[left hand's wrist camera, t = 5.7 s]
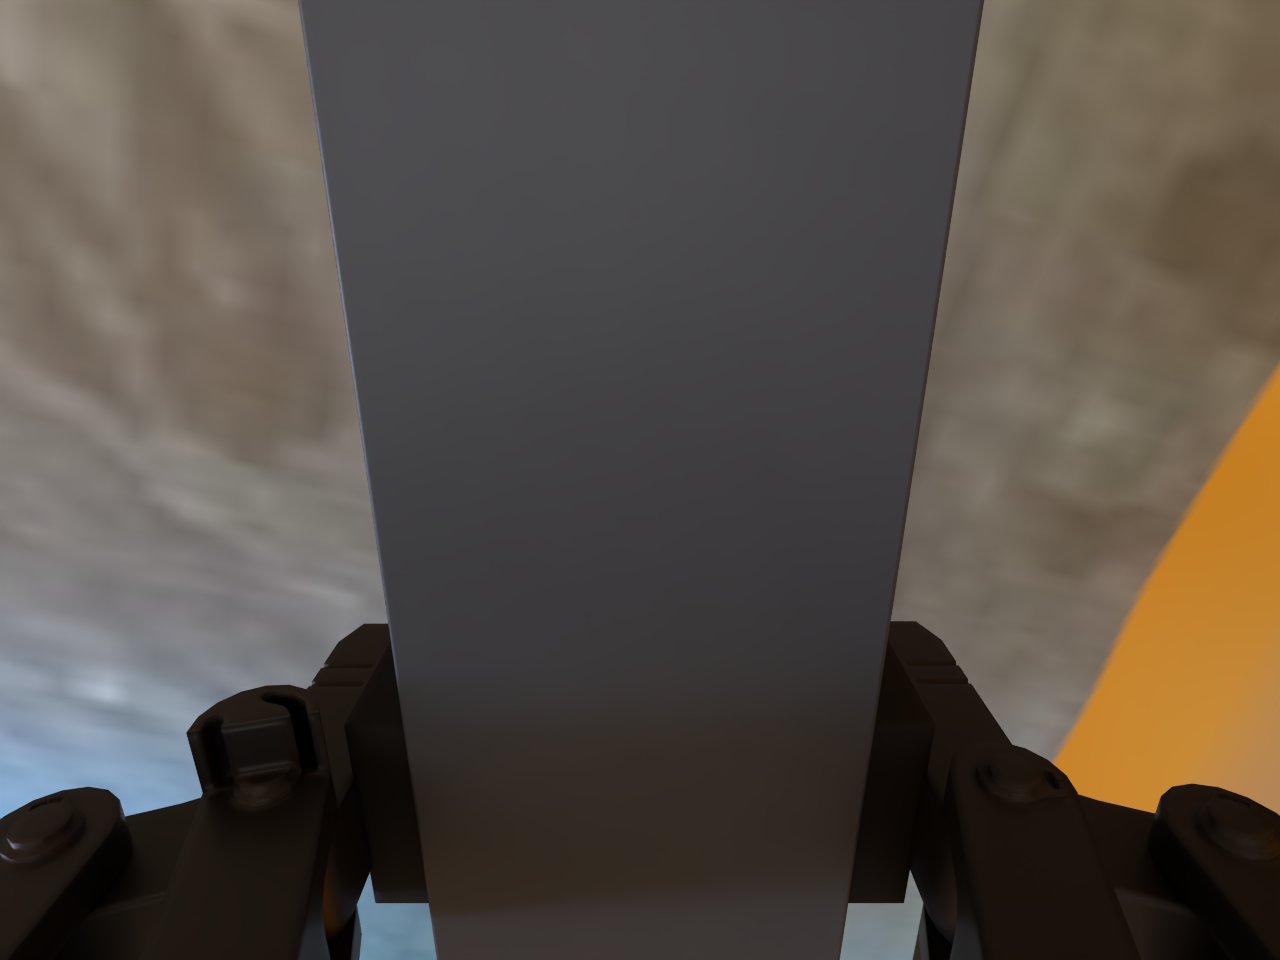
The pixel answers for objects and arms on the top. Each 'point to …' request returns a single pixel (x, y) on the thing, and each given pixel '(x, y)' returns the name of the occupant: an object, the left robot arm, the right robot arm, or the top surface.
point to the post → (639, 438)
